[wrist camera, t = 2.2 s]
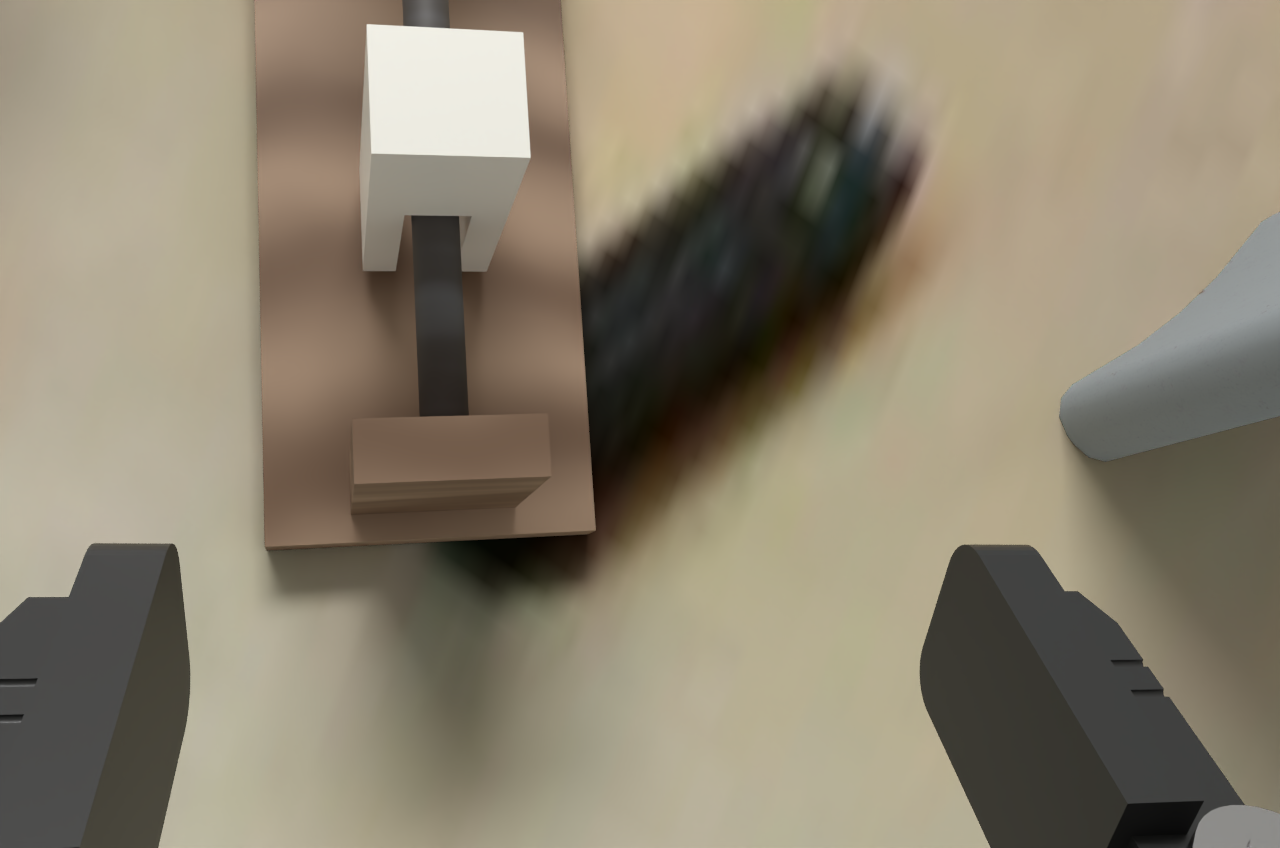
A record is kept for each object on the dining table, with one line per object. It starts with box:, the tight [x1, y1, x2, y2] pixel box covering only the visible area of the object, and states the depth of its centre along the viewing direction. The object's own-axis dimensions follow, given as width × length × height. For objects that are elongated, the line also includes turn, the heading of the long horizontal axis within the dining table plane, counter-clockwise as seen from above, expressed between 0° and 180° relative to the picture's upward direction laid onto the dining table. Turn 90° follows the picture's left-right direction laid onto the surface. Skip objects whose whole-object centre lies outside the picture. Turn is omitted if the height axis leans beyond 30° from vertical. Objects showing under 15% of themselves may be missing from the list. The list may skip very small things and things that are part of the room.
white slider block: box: [359, 24, 531, 272], centre depth 41 cm, size 4×5×11 cm
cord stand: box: [254, 0, 596, 551], centre depth 45 cm, size 32×12×10 cm, turn 4°
